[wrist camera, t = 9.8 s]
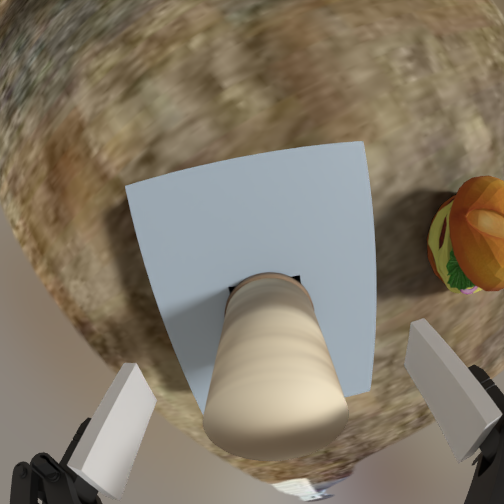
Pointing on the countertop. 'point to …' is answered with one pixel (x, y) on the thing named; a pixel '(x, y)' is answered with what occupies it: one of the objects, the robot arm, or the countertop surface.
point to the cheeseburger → (470, 237)
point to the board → (263, 249)
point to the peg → (273, 375)
